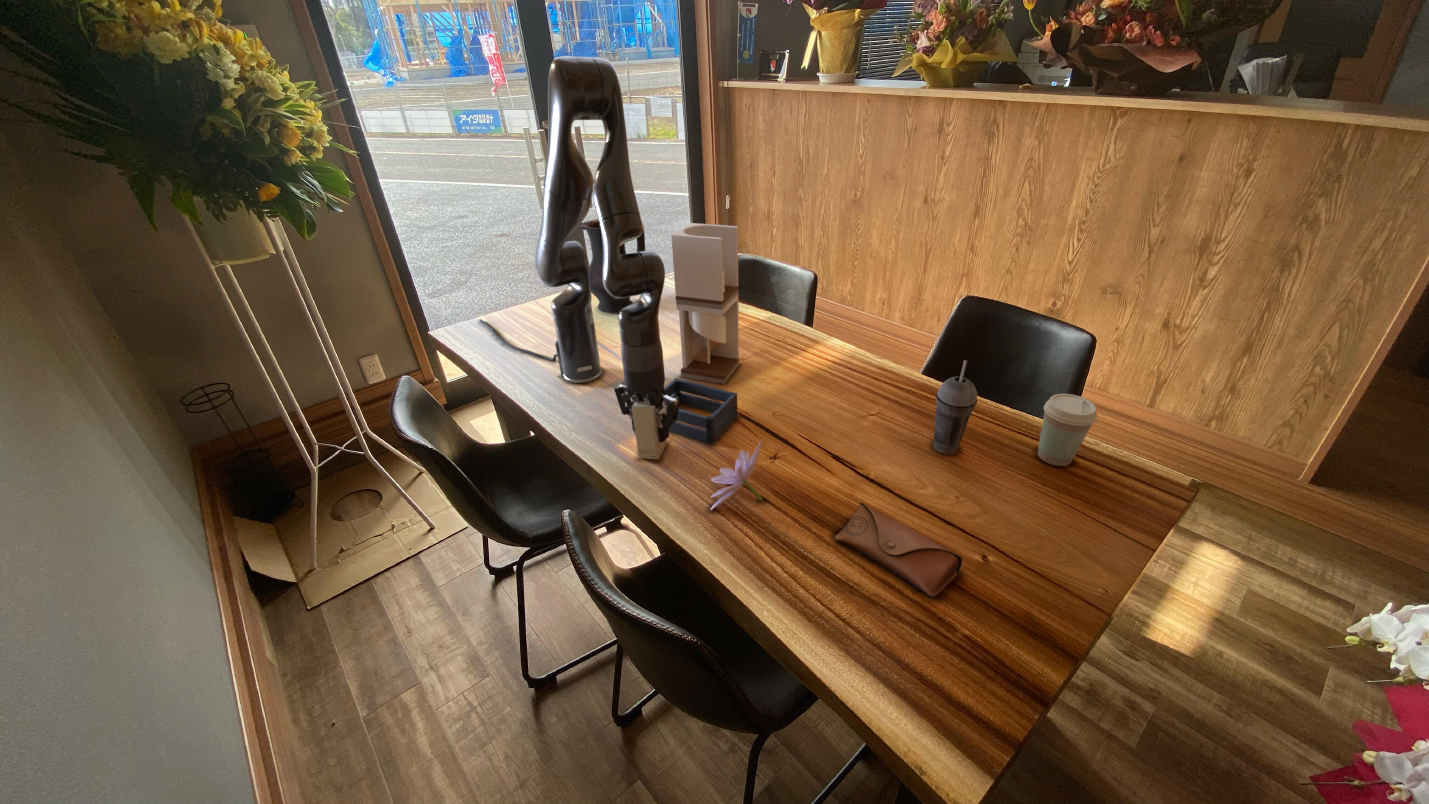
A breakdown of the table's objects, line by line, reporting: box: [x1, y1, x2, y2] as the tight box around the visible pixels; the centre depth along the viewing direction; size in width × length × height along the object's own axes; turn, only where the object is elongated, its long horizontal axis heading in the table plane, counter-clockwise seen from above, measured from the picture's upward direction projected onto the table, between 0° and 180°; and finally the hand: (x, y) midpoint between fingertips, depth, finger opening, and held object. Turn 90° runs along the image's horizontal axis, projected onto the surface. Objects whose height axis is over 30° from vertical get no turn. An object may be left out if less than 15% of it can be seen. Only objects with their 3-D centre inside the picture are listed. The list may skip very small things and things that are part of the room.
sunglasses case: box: [834, 502, 963, 598], centre depth 89 cm, size 18×7×7 cm
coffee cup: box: [1037, 393, 1098, 467], centre depth 107 cm, size 8×9×12 cm
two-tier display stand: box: [670, 222, 740, 385], centre depth 135 cm, size 11×11×35 cm
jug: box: [577, 218, 646, 314], centre depth 174 cm, size 21×18×30 cm
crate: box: [664, 377, 738, 445], centre depth 123 cm, size 16×12×6 cm
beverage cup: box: [932, 359, 978, 455], centre depth 108 cm, size 7×7×20 cm
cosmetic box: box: [632, 401, 667, 460], centre depth 113 cm, size 6×4×12 cm
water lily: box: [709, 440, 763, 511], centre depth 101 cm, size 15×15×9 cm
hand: (651, 436), depth 114 cm, fingers closed on cosmetic box, 5 cm apart
